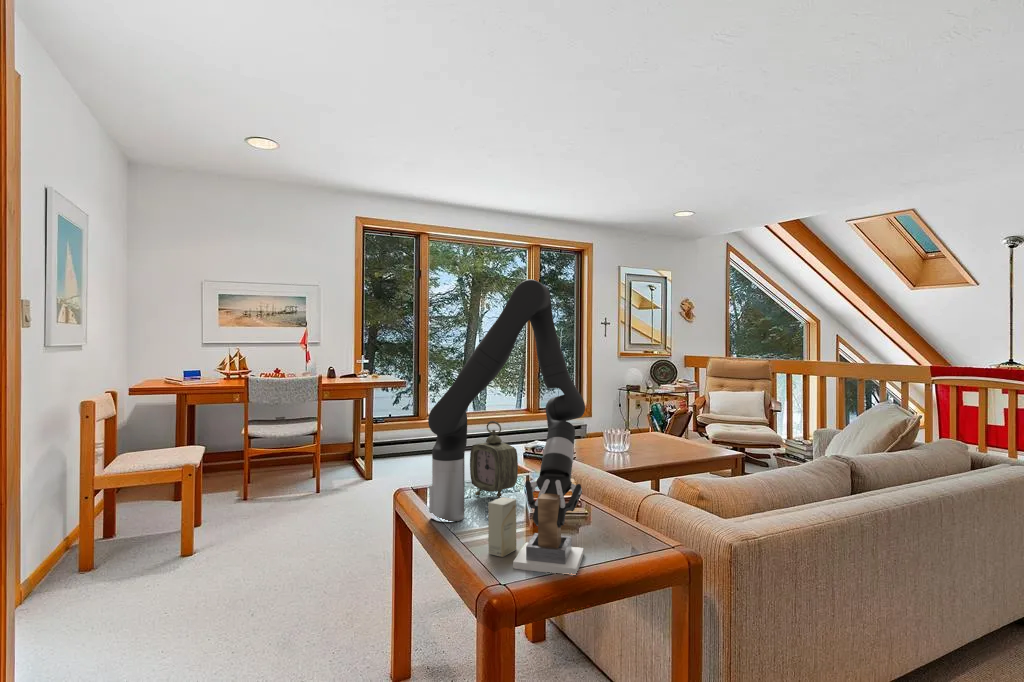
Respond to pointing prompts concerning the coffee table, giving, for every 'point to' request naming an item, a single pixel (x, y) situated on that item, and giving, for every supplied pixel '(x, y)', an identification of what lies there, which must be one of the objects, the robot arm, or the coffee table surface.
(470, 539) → the coffee table surface
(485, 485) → the tabletop clock
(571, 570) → the mount board
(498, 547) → the skincare box
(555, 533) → the walnut peg
